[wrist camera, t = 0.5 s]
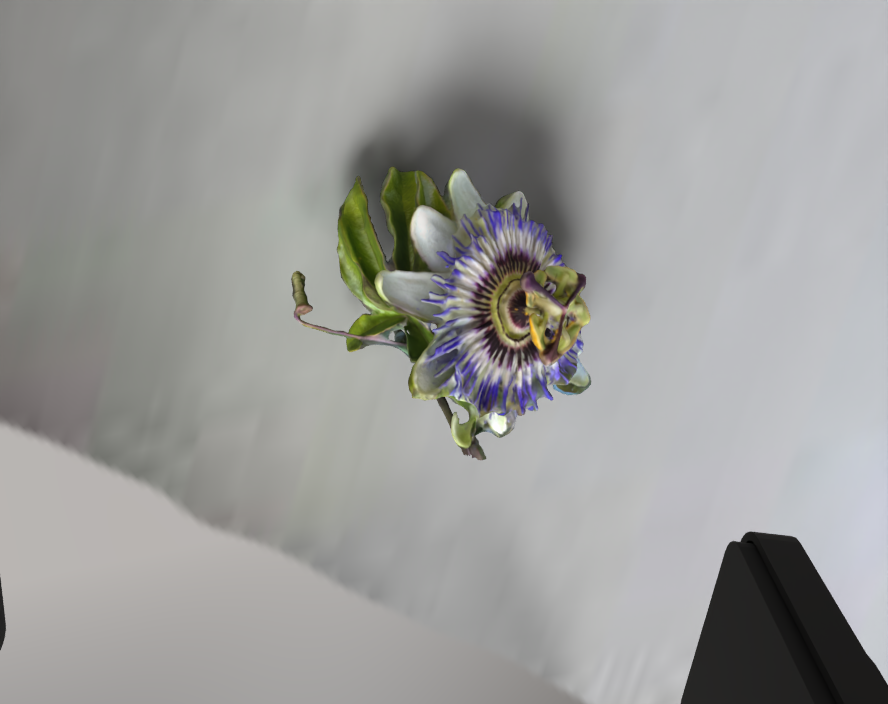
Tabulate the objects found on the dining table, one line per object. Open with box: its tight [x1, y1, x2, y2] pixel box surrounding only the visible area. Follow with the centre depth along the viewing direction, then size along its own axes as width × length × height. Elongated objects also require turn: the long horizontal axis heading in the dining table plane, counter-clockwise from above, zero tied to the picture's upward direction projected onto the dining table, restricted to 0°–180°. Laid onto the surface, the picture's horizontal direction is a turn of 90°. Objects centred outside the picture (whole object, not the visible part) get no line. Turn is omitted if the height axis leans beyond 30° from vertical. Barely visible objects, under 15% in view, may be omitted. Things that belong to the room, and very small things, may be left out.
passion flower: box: [291, 167, 591, 460], centre depth 37 cm, size 11×11×12 cm
